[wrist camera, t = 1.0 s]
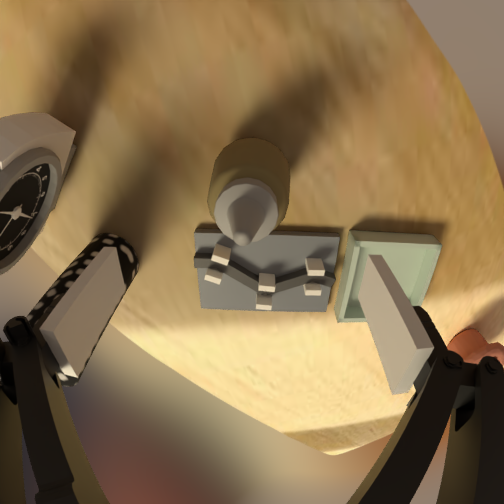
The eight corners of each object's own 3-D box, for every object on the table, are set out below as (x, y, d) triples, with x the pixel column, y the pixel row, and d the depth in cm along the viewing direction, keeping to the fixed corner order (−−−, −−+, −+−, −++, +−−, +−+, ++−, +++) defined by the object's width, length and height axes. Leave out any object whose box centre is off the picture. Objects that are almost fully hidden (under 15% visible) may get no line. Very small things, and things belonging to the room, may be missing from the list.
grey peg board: (196, 228, 38) (189, 243, 35) (338, 233, 38) (345, 248, 34) (202, 303, 44) (197, 321, 41) (325, 306, 44) (329, 324, 40)
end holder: (349, 230, 38) (355, 240, 35) (432, 234, 37) (442, 244, 35) (333, 309, 44) (337, 322, 41) (408, 307, 44) (415, 319, 41)
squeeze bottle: (273, 123, 32) (284, 152, 16) (296, 187, 35) (324, 270, 19) (206, 148, 33) (155, 202, 17) (233, 209, 37) (211, 304, 21)
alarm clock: (56, 232, 39) (-26, 316, 21) (20, 205, 37) (-67, 274, 19) (96, 126, 32) (-25, 174, 14) (52, 100, 29) (-68, 132, 12)
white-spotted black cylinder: (141, 241, 39) (72, 349, 22) (136, 288, 43) (83, 395, 26) (89, 227, 38) (5, 317, 21) (89, 273, 42) (24, 368, 25)
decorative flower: (499, 311, 45) (567, 424, 18) (475, 358, 51) (523, 463, 25) (447, 320, 45) (514, 460, 19) (424, 369, 52) (466, 493, 26)
